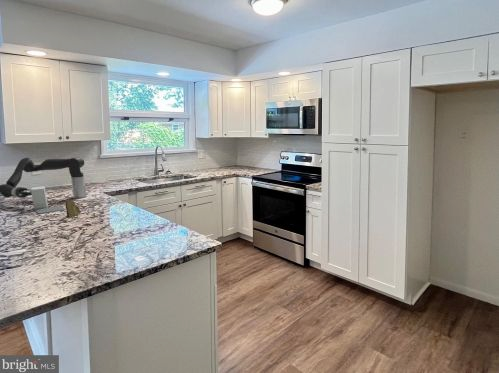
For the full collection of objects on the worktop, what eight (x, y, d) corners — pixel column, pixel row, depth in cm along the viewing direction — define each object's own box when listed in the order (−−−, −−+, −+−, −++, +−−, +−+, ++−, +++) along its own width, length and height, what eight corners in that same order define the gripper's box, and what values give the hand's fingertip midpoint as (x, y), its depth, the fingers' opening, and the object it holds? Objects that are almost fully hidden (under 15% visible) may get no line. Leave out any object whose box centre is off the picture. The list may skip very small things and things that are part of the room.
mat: (59, 206, 245) (59, 205, 245) (64, 209, 234) (64, 209, 234) (34, 210, 235) (34, 209, 235) (38, 214, 224) (38, 213, 224)
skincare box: (47, 205, 246) (45, 186, 242) (47, 208, 241) (44, 188, 237) (34, 206, 243) (31, 187, 239) (33, 209, 238) (30, 189, 234)
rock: (78, 208, 228) (62, 209, 221) (81, 199, 224) (65, 200, 217) (82, 220, 223) (66, 221, 216) (86, 211, 219) (70, 212, 212)
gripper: (29, 195, 255) (45, 196, 248) (11, 199, 243) (27, 200, 236) (27, 185, 253) (43, 187, 247) (10, 188, 241) (26, 190, 235)
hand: (35, 193), depth 241 cm, fingers closed
